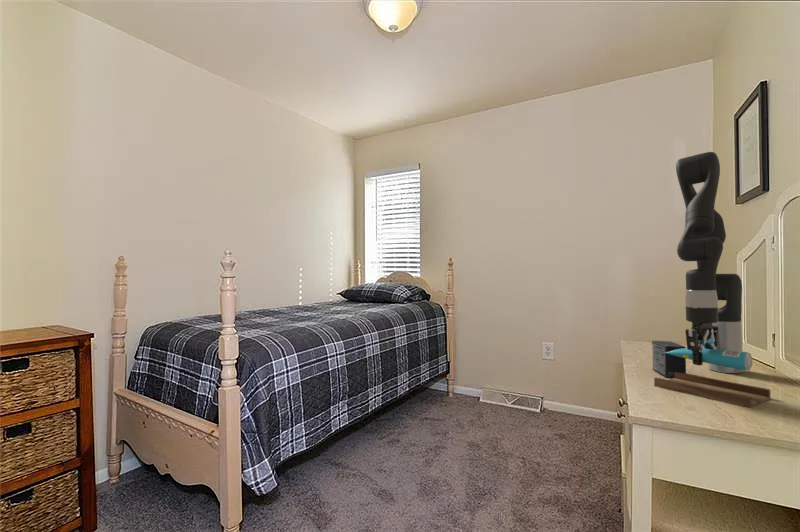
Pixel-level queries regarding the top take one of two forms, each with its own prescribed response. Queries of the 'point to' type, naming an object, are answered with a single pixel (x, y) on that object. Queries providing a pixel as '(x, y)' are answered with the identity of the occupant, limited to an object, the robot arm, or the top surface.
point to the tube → (719, 357)
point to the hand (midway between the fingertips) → (703, 363)
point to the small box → (667, 359)
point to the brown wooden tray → (715, 389)
